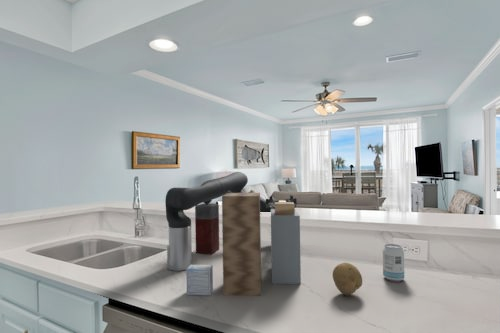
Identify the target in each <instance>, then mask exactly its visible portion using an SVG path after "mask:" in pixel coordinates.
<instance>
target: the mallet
mask: <svg viewBox="0 0 500 333" xmlns="http://www.w3.org/2000/svg"><path fill="white" fill-rule="evenodd" d="M278 200H279V202H275V215H295V210H296V208H295V204H294V202H286V199H278Z"/></svg>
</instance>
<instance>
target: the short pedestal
mask: <svg viewBox="0 0 500 333" xmlns="http://www.w3.org/2000/svg"><path fill="white" fill-rule="evenodd" d="M300 217H301V216H300V214H299V213H298V211H297V209H295V215H275V209H271V216H270V222H271V225H270V249H271V250H270V251H271V252H270V254H271V255H270V256H271V257H270V258H271V260H270V262H271V265H270V266H271V283H272V285H275V284H276V285H279V284H281V285H285V284H286V285H287V284H289V285H296V284H297V285H301V283H302V282H301V281H302V280H301V279H302V278H301V273H302V272H301V270H302V269H301V268H302V267H301V218H300Z"/></svg>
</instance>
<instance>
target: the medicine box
mask: <svg viewBox="0 0 500 333" xmlns="http://www.w3.org/2000/svg"><path fill="white" fill-rule="evenodd" d="M185 271H186V272H185V273H186V274H185V275H186V296H211V294H212V293H213V290H214V277H213V276H214V274H213V273H214V272H213V271H214V270H213V265H212V264H192V265H190V266H189V267H188V268H187V269H186V270H185Z"/></svg>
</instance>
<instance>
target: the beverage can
mask: <svg viewBox="0 0 500 333" xmlns="http://www.w3.org/2000/svg"><path fill="white" fill-rule="evenodd" d="M382 276H383V277H384V278H386V280H387V281H389V282H390V281H391V282H396V283H399V282H401V281H403V280H404V279H405V251H404V249H403V246H401V245H400V244H395V243H386V244H384V247H383V249H382Z"/></svg>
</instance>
